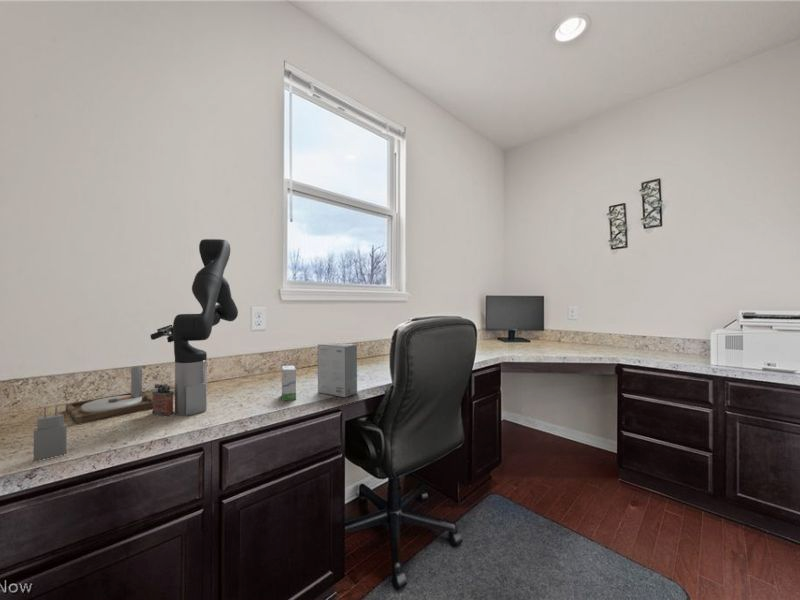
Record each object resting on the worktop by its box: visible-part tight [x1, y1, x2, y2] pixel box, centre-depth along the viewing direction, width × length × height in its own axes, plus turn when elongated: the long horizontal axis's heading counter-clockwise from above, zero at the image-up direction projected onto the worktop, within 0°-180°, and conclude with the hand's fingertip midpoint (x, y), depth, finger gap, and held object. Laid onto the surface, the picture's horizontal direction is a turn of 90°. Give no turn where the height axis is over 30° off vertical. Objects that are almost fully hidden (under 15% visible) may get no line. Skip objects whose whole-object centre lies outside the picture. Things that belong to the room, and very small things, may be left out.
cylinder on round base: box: [81, 365, 143, 414], centre depth 115 cm, size 16×16×12 cm
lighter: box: [151, 383, 175, 417], centre depth 110 cm, size 8×3×10 cm, turn 71°
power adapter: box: [32, 405, 68, 462], centre depth 80 cm, size 3×5×12 cm, turn 134°
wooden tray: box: [65, 391, 153, 426], centre depth 115 cm, size 21×21×2 cm
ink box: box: [281, 365, 297, 402], centre depth 129 cm, size 8×5×12 cm, turn 22°
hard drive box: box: [317, 342, 358, 398], centre depth 135 cm, size 16×8×20 cm, turn 58°
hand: (159, 338), depth 126 cm, fingers open, 8 cm apart
